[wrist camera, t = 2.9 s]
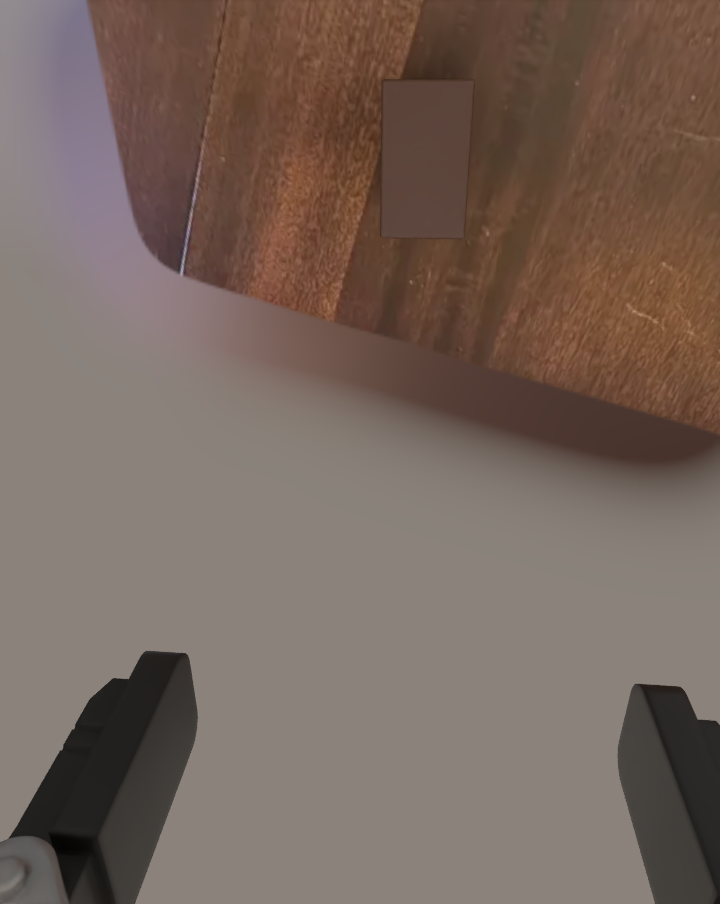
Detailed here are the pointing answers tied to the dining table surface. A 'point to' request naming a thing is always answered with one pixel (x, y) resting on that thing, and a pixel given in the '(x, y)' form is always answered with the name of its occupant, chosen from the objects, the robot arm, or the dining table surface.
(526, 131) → the dining table surface
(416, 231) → the chocolate bar
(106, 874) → the robot arm
